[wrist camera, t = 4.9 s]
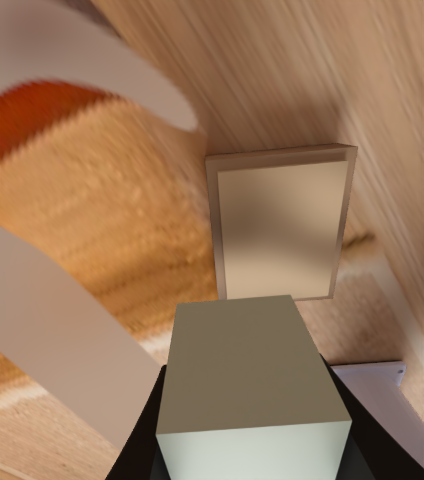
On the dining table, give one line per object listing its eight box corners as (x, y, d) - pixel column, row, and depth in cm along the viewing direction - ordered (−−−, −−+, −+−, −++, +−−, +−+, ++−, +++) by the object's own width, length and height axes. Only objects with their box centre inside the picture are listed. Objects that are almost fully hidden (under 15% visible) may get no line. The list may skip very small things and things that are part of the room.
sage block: (285, 370, 13) (328, 504, 8) (191, 377, 13) (182, 513, 8) (290, 294, 11) (352, 420, 6) (177, 303, 11) (155, 434, 6)
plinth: (320, 280, 19) (335, 302, 17) (218, 288, 19) (219, 311, 17) (337, 143, 15) (362, 147, 12) (205, 155, 15) (204, 162, 12)
